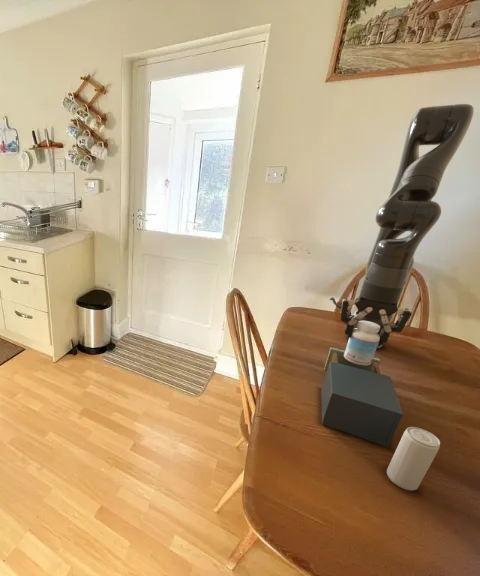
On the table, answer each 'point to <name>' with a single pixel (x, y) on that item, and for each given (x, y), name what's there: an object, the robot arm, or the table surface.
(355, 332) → the pill bottle
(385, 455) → the table surface
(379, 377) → the cabinet
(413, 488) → the beverage can
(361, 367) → the drawer
